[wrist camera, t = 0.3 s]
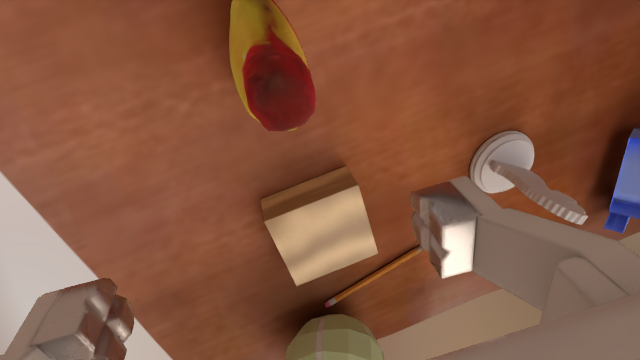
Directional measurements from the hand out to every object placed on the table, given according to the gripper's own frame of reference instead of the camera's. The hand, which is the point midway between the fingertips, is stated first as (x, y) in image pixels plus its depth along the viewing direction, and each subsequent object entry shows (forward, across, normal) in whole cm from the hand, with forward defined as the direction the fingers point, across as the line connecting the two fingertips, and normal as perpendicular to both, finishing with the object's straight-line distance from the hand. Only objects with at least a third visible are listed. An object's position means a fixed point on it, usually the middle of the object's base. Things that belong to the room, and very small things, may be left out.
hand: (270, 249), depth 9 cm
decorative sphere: (+15, +2, +47) cm, 49 cm away
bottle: (+32, -1, +1) cm, 32 cm away
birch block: (+31, -3, +24) cm, 39 cm away
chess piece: (+32, -31, +24) cm, 51 cm away
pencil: (+30, 0, +42) cm, 52 cm away
